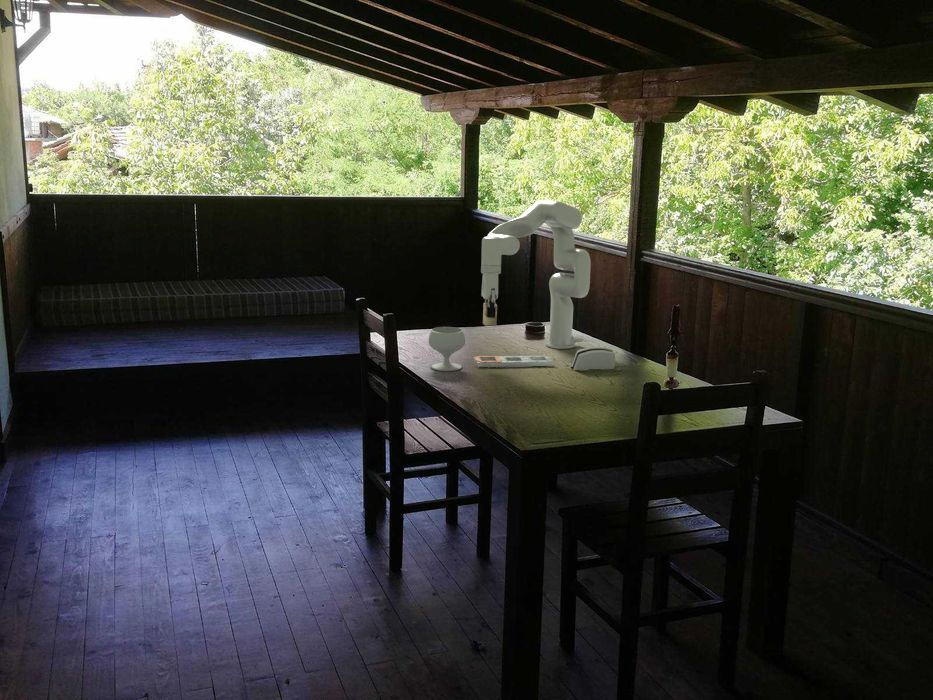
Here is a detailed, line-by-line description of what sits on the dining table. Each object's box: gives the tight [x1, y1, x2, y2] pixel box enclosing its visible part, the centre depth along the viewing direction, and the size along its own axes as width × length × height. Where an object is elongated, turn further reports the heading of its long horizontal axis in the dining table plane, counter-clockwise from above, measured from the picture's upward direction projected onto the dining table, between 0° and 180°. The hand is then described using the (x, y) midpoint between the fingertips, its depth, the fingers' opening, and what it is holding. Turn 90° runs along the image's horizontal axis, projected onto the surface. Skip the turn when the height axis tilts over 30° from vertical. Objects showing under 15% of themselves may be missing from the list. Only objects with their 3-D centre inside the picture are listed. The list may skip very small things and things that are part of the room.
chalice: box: [428, 326, 466, 372], centre depth 335 cm, size 14×14×15 cm
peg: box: [482, 302, 498, 327], centre depth 339 cm, size 4×4×8 cm
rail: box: [473, 354, 555, 369], centre depth 345 cm, size 30×10×2 cm, turn 99°
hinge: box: [570, 346, 616, 371], centre depth 339 cm, size 17×5×10 cm, turn 104°
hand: (489, 315), depth 339 cm, fingers closed on peg, 4 cm apart
